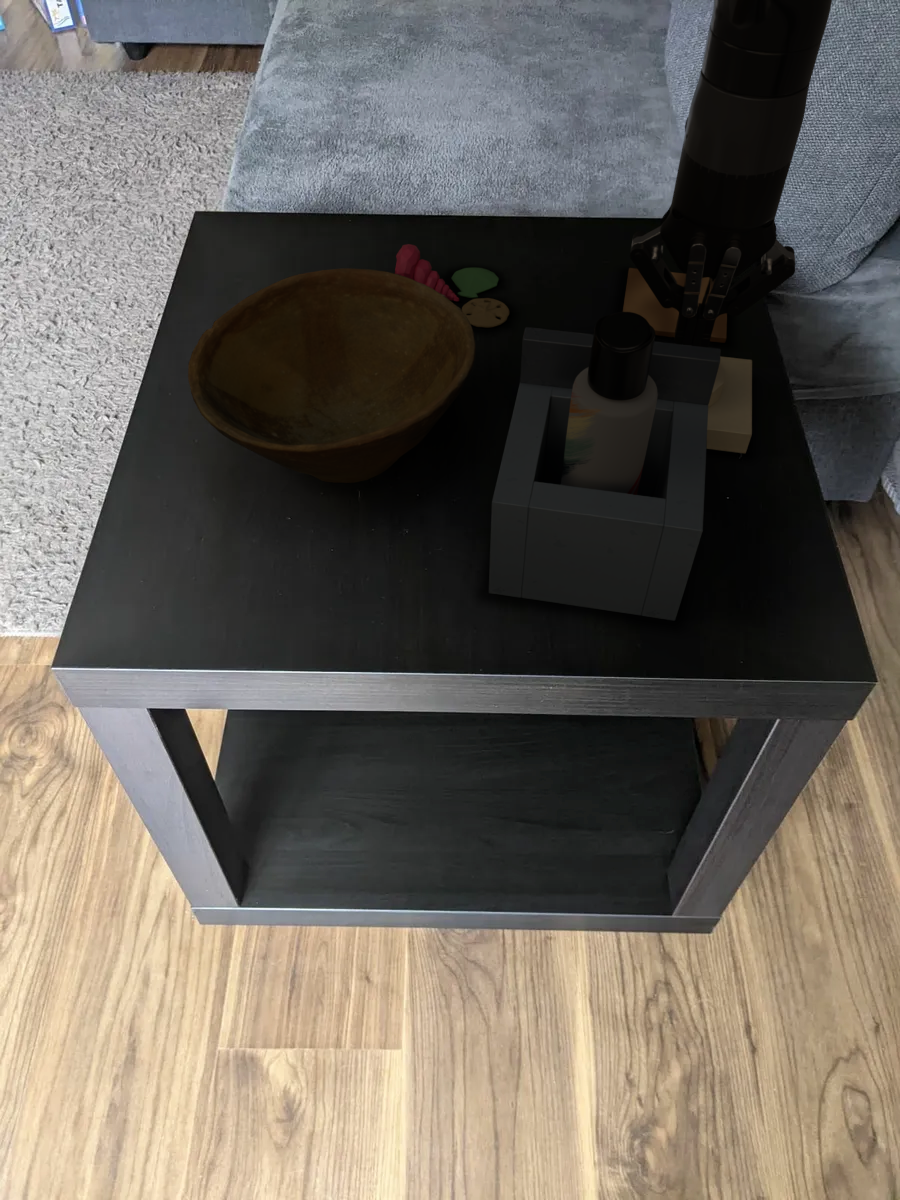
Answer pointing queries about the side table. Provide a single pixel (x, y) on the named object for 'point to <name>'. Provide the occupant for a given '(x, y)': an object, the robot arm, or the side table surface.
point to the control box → (731, 406)
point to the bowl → (333, 370)
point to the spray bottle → (612, 408)
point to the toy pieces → (464, 279)
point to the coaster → (659, 317)
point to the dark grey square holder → (595, 517)
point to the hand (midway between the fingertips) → (689, 348)
